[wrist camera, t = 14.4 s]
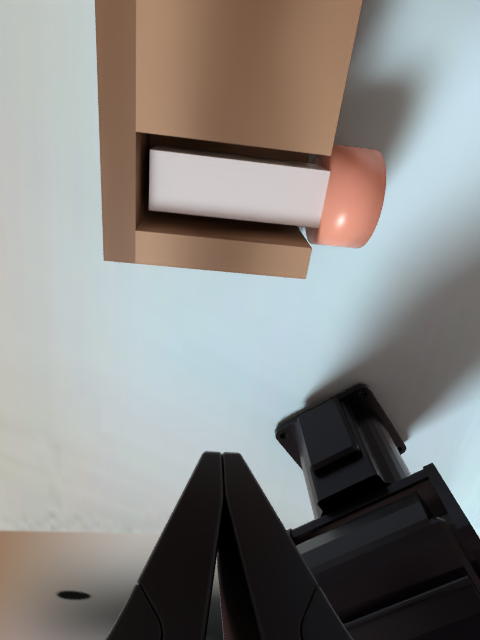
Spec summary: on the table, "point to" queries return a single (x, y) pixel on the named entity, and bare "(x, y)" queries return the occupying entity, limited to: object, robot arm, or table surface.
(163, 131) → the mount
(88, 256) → the table surface
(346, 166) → the red knob
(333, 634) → the robot arm
